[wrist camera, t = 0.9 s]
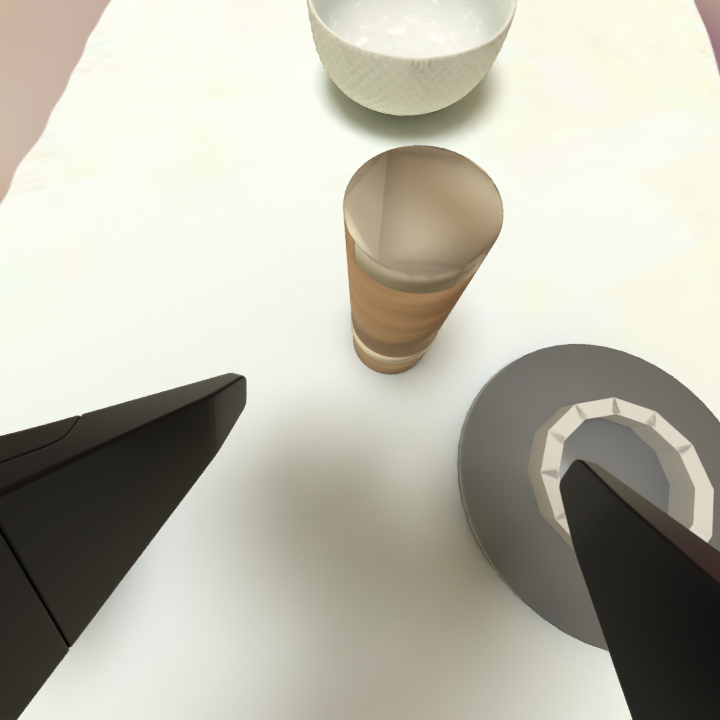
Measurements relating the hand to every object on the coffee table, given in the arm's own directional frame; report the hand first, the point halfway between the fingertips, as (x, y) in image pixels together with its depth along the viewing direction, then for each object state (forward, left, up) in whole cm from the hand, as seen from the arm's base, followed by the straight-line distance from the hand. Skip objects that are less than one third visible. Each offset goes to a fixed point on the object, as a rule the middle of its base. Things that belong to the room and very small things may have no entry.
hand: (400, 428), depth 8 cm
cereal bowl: (+25, +25, -13) cm, 38 cm away
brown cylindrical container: (+6, +5, -13) cm, 15 cm away
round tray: (+10, -11, -13) cm, 20 cm away
